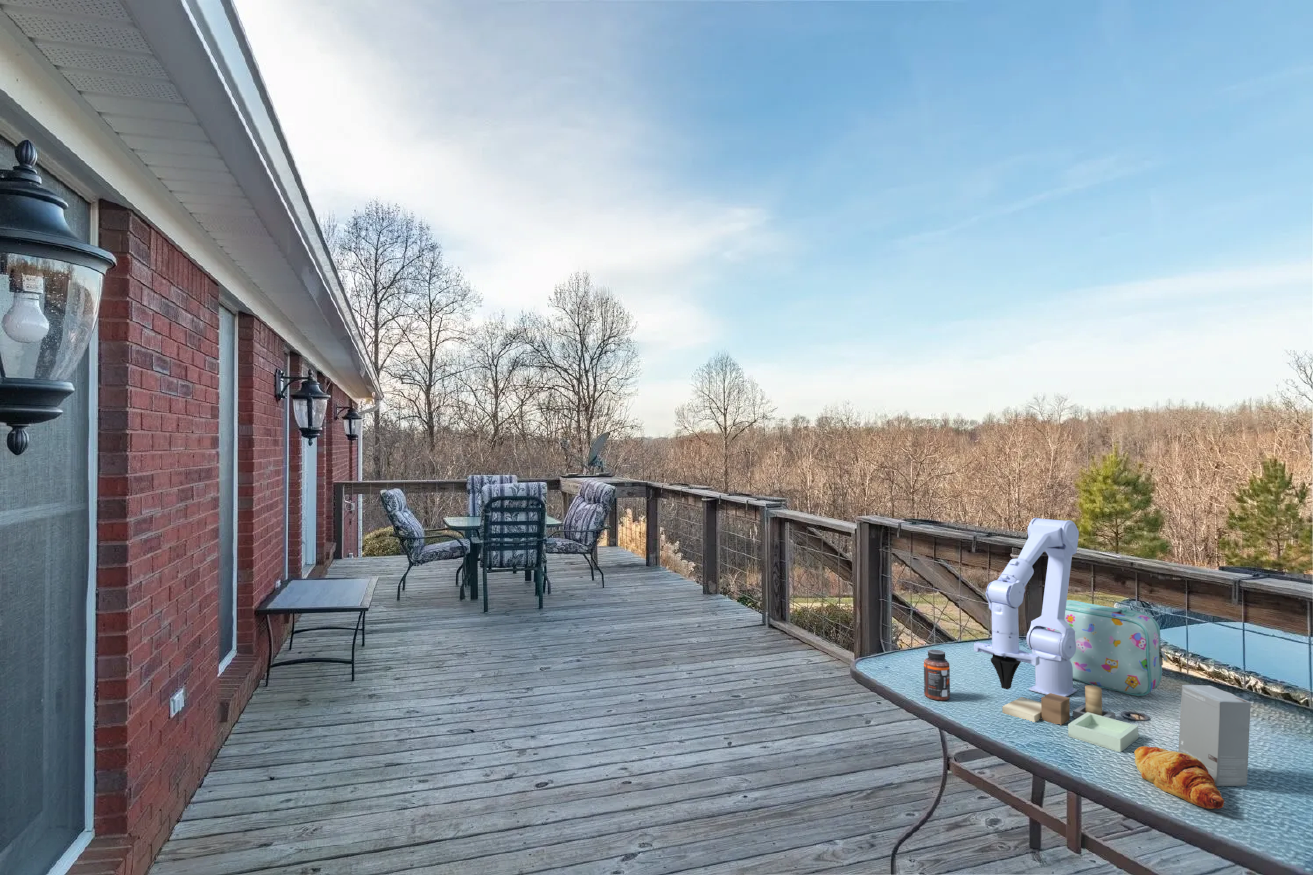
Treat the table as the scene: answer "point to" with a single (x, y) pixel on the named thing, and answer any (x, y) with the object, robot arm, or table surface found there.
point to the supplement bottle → (936, 676)
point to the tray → (1103, 731)
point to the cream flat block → (1024, 709)
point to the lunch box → (1115, 648)
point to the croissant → (1178, 776)
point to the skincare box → (1216, 732)
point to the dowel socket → (1082, 711)
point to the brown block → (1055, 708)
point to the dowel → (1093, 699)
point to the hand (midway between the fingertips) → (1006, 687)
